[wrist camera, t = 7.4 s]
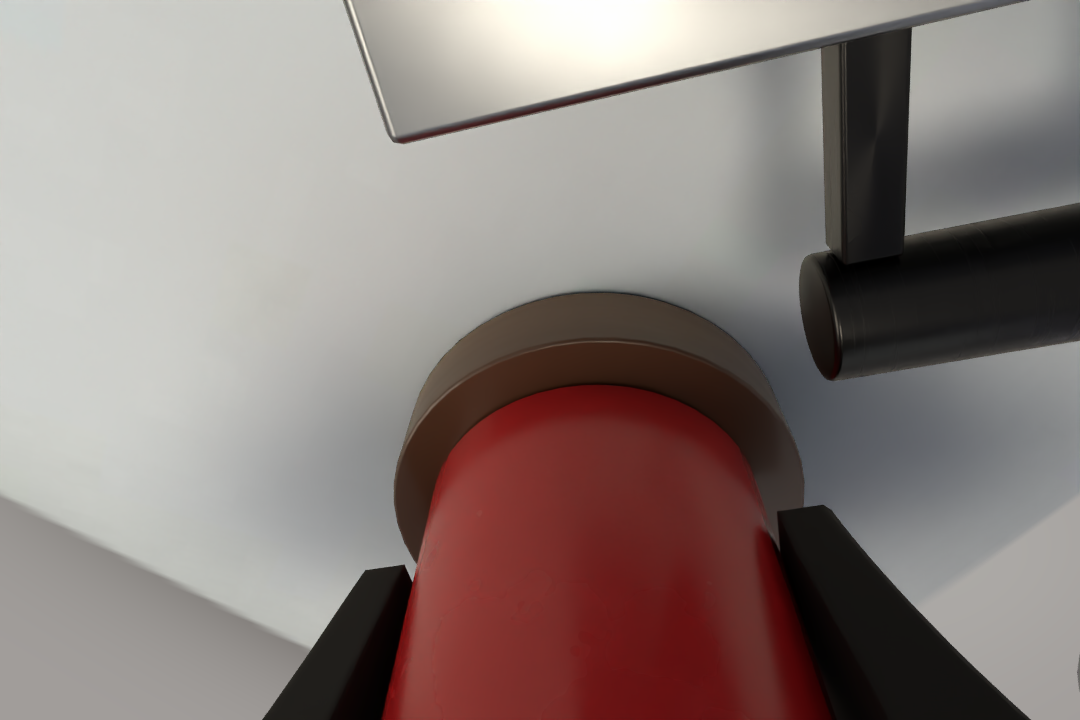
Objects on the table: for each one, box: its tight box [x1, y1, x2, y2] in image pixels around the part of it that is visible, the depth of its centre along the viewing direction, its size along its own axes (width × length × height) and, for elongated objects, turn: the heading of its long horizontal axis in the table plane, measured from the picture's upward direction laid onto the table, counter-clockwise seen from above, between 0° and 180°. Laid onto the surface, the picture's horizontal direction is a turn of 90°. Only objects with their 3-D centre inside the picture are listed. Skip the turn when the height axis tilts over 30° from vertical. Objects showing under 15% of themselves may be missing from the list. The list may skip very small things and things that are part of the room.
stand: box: [394, 293, 805, 564], centre depth 12 cm, size 7×7×2 cm
